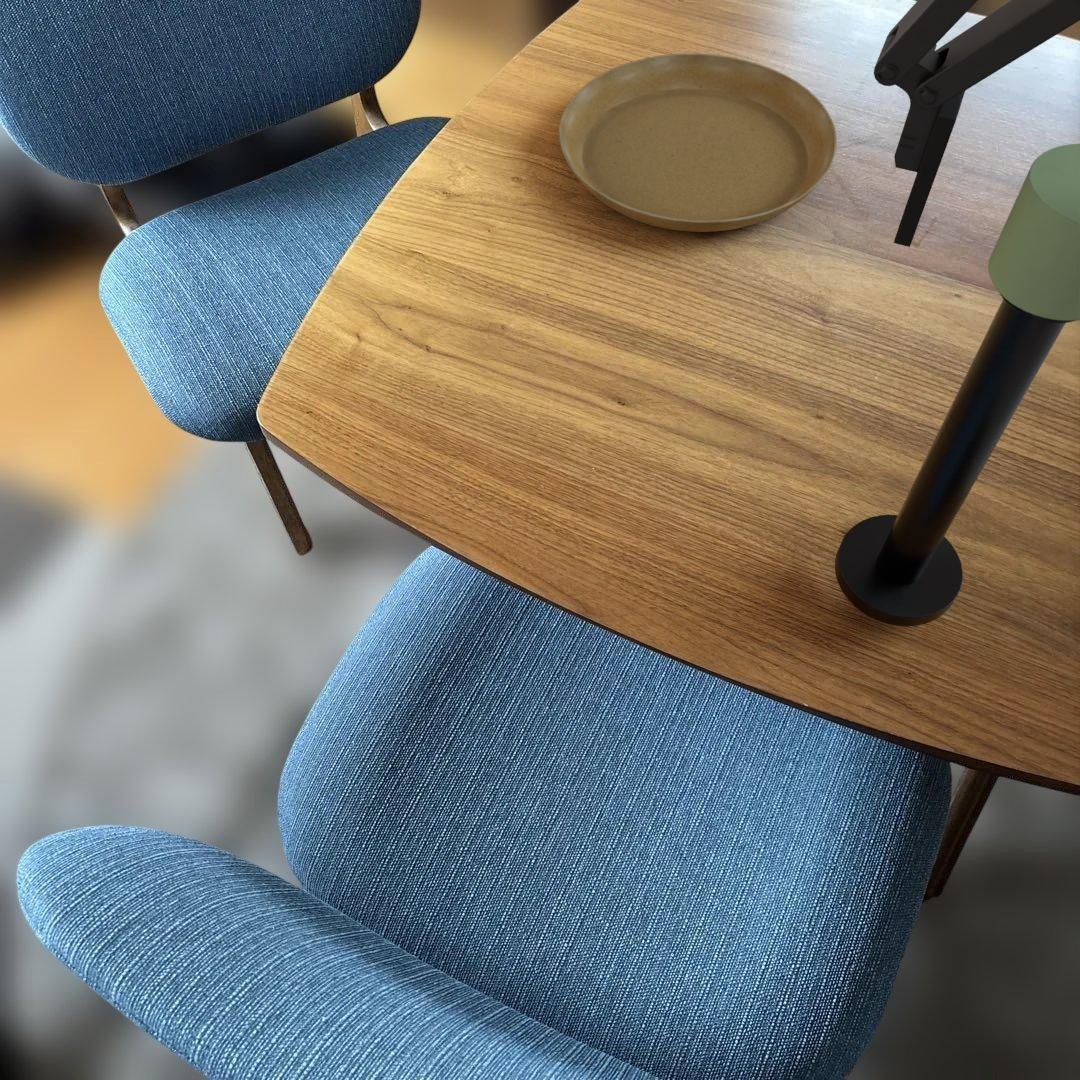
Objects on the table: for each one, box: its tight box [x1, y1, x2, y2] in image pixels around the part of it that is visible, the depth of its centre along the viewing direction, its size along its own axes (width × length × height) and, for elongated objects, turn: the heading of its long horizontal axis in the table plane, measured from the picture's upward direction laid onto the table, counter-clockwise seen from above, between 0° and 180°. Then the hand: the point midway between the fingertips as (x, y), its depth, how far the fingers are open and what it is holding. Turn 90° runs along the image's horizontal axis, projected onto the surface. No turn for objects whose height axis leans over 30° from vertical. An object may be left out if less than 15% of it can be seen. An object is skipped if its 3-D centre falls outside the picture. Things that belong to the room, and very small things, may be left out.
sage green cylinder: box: [987, 143, 1080, 321], centre depth 45 cm, size 6×6×5 cm
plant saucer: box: [558, 52, 838, 233], centre depth 91 cm, size 24×24×3 cm
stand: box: [834, 293, 1077, 627], centre depth 58 cm, size 8×8×26 cm
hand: (1058, 264), depth 46 cm, fingers open, 13 cm apart
